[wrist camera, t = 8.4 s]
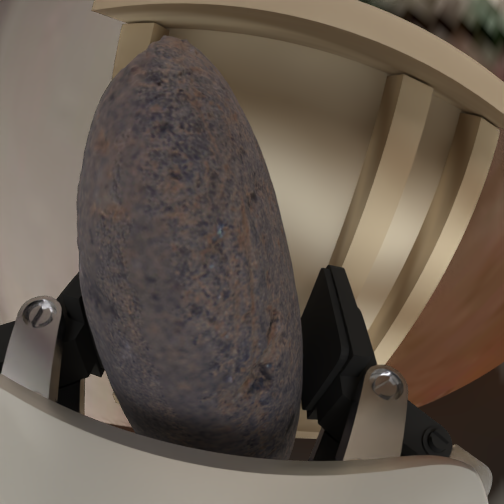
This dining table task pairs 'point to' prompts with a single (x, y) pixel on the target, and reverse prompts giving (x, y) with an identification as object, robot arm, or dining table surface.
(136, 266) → the perforated stone tool
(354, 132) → the rack
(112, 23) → the dining table surface
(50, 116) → the dining table surface
